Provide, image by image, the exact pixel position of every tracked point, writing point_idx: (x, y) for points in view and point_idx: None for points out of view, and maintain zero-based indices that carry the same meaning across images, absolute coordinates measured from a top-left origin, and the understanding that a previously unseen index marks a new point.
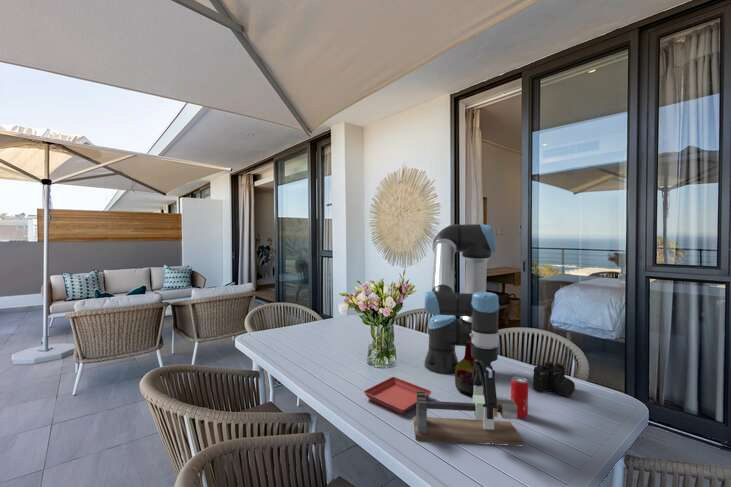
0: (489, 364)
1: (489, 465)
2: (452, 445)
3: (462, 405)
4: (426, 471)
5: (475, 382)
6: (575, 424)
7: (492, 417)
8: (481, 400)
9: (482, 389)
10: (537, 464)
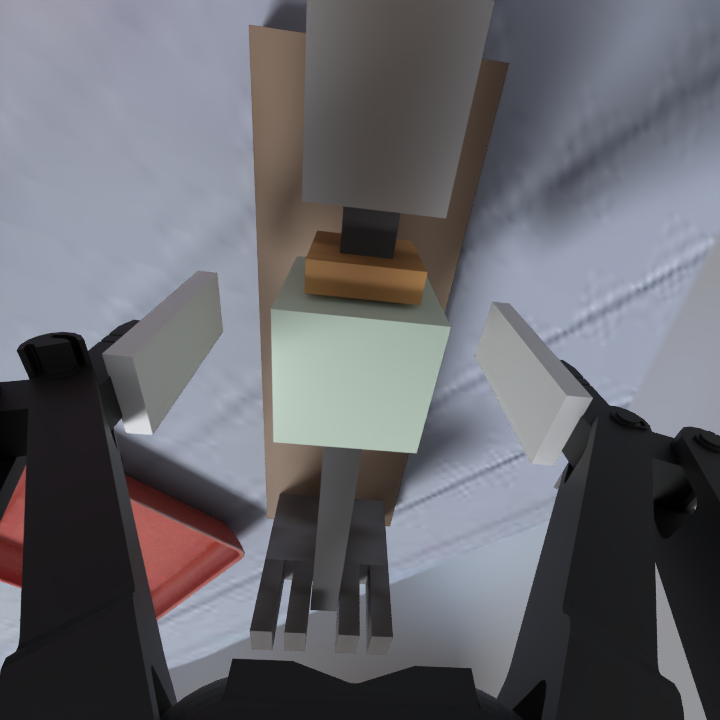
0: None
1: (581, 329)
2: (431, 421)
3: (356, 479)
4: (541, 505)
5: (119, 457)
6: None
7: (576, 375)
8: (373, 410)
9: (148, 346)
10: (673, 60)
